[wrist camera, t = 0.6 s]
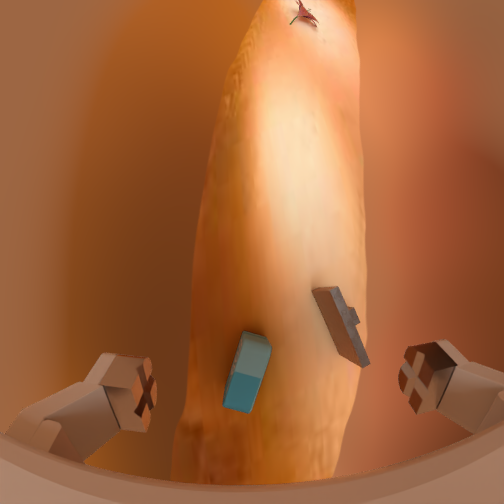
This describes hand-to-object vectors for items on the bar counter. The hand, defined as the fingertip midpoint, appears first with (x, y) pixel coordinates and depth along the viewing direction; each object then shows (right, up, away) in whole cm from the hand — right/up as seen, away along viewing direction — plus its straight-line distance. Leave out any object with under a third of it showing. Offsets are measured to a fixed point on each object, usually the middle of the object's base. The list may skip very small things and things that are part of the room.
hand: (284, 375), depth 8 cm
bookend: (+15, -9, +47) cm, 51 cm away
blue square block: (-2, -17, +46) cm, 49 cm away
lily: (+14, +70, +58) cm, 92 cm away
